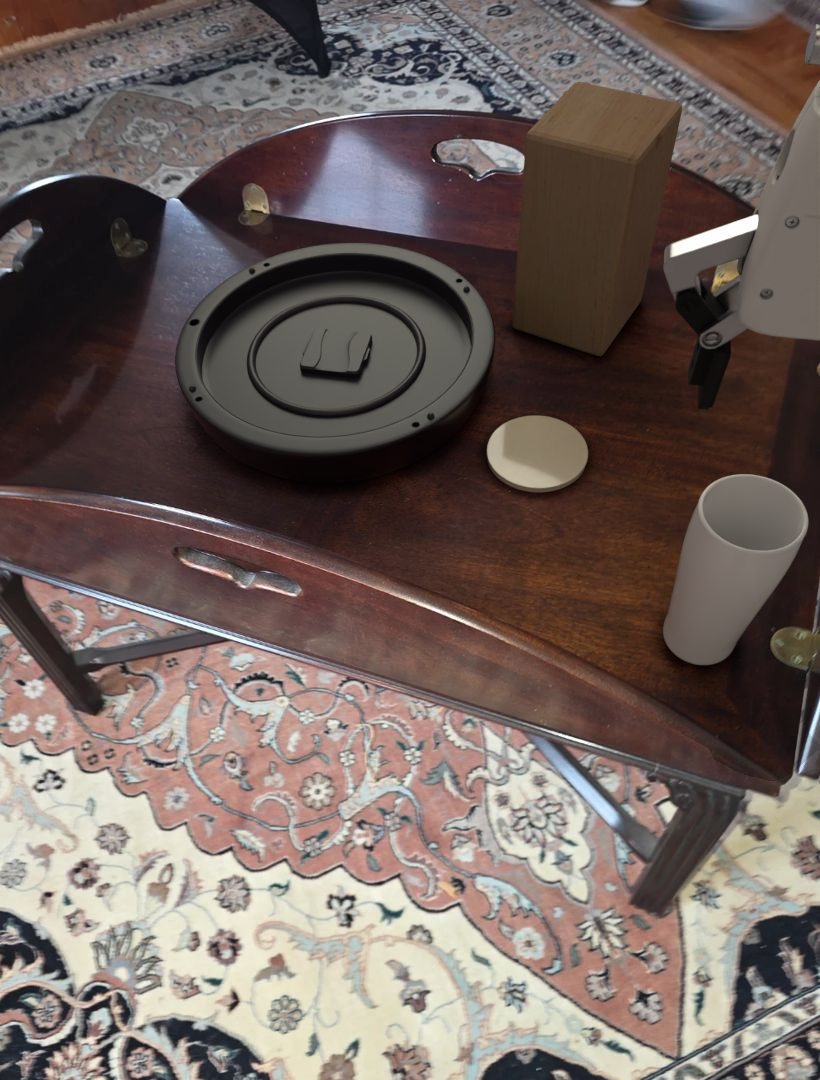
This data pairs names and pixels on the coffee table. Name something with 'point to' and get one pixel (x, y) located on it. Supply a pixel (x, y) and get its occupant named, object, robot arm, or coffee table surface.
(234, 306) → the round tray
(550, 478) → the coaster
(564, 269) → the wooden block
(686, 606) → the drinking glass
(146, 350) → the coffee table surface
